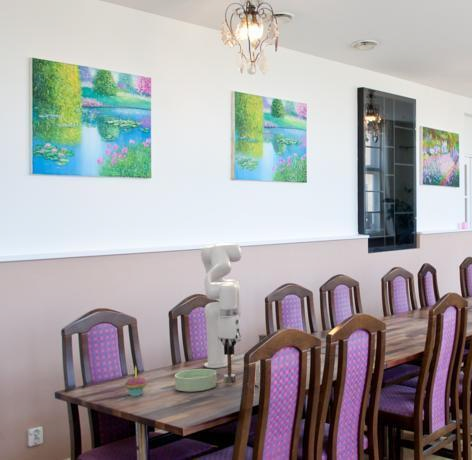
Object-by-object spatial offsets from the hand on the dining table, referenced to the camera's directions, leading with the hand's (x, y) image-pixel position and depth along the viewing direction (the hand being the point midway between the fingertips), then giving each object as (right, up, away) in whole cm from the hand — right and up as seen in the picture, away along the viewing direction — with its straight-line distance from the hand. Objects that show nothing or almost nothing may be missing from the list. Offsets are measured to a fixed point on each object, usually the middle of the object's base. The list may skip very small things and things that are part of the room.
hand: (229, 354), depth 281 cm
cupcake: (-36, -15, -12) cm, 41 cm away
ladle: (0, -12, 0) cm, 12 cm away
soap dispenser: (+16, -14, +1) cm, 21 cm away
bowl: (-14, -14, -2) cm, 20 cm away
